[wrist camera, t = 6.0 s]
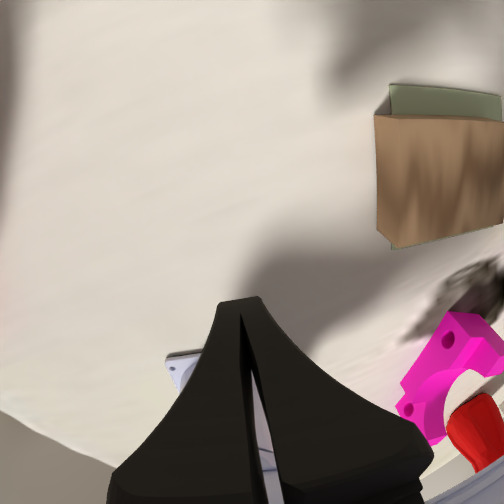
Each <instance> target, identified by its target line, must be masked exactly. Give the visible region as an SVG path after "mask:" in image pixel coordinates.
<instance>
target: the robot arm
mask: <svg viewBox="0 0 504 504" xmlns="http://www.w3.org/2000/svg"><path fill="white" fill-rule="evenodd" d="M165 366H166V368H167V370H168V372H169V374H170V376H171V378H172V380H173V382H174V384H175V386H176V388H177V390H178V392H179V394H180V395H179V396H178V398H177V399H176V401H175V402H174V404H173V405H172V407H171V408H170V410H169V411H168V413H167V414H166V415H165V417H164V418H163V419H162V421H161V422H160V423H159V424H158V426H157V427H156V428H155V429H154V430H153V432H152V433H151V434H150V435H149V436H148V437H147V439H146V440H145V441H144V442H143V443H142V444H141V445H140V447H139V448H138V449H137V450H136V451H135V452H134V453H133V454H132V455H130V456H129V457H128V458H127V459H126V460H125V461H124V462H123V463H122V464H121V465H120V466H119V467H118V468H117V469H116V470H115V471H114V472H113V473H112V476H111V480H110V484H109V488H108V492H107V501H106V504H504V455H503V456H502V457H500V458H499V459H497V460H496V461H494V462H493V463H492V464H490V465H489V466H487V467H486V468H484V469H483V470H481V471H479V472H478V473H476V474H475V475H473V476H471V477H470V478H468V479H467V480H465V481H463V482H462V483H460V484H458V485H456V486H454V487H453V488H451V489H449V490H447V491H445V492H443V493H442V494H440V495H438V496H436V497H434V498H432V499H430V500H428V501H426V502H424V500H423V498H422V496H421V493H420V491H421V490H422V489H423V486H422V484H421V482H420V480H419V477H420V475H421V474H422V473H423V472H424V471H425V470H426V469H427V468H428V466H429V465H430V464H431V462H432V461H433V458H434V452H433V450H432V448H431V446H430V444H429V442H428V441H427V439H426V438H425V436H424V435H423V434H422V432H421V431H420V430H419V428H418V427H417V426H416V424H415V423H414V422H411V421H409V420H406V419H404V418H402V417H399V416H397V415H395V414H393V413H391V412H389V411H387V410H384V409H382V408H380V407H379V406H377V405H375V404H373V403H371V402H369V401H368V400H366V399H364V398H362V397H361V396H359V395H358V394H356V393H355V392H353V391H351V390H350V389H348V388H347V387H345V386H344V385H342V384H341V383H339V382H338V381H336V380H335V379H334V378H332V377H331V376H330V375H329V374H327V373H326V372H325V371H323V370H322V369H321V368H320V367H319V366H317V365H316V364H315V363H314V362H313V361H312V360H311V359H309V358H308V357H307V356H306V355H305V354H304V353H303V352H302V351H301V350H300V349H299V348H298V347H297V346H296V345H295V344H294V343H293V342H292V340H291V339H290V338H289V337H288V336H287V335H286V334H285V332H284V331H283V330H282V329H281V328H280V327H279V325H278V324H277V323H276V322H275V320H274V319H273V317H272V316H271V315H270V313H269V312H268V310H267V309H266V307H265V305H264V304H263V302H262V300H261V298H260V297H258V296H255V297H249V298H243V299H239V300H238V299H237V300H231V301H225V302H220V303H219V304H218V305H217V309H216V314H215V318H214V321H213V324H212V327H211V330H210V333H209V336H208V338H207V341H206V344H205V346H204V349H203V351H202V353H198V354H191V355H184V356H177V357H170V358H167V359H165Z"/></svg>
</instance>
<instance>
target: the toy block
mask: <svg viewBox="0 0 504 504" xmlns="http://www.w3.org/2000/svg"><path fill="white" fill-rule="evenodd" d="M468 369H472V370H474V371H476V372H478V373H480V374H481V375H482V376H483V377H484V378H485V377H489V376H494V375H499V374H501V373H502V372H503V371H504V341H503V340H502V339H501V337H500V336H499V335H498V334H497V333H496V332H495V331H494V330H493V329H492V328H491V327H490V326H489V325H488V323H487V322H486V321H485V320H484V319H483V318H482V317H481V316H480V315H479V314H472V313H461V312H451V311H447V313H446V314H445V316H444V318H443V319H442V321H441V323H440V324H439V326H438V328H437V329H436V331H435V332H434V334H433V336H432V337H431V339H430V340H429V342H428V343H427V345H426V347H425V348H424V350H423V351H422V353H421V354H420V355H419V357H418V358H417V360H416V361H415V363H414V364H413V366H412V367H411V368H410V370H409V371H408V373H407V374H406V375H405V377H404V378H403V379H402V381H401V382H400V384H401V386H402V388H403V389H404V391H405V395H404V396H403V397H402V398H401V400H400V401H399V402H398V403H397V404H396V406H395V407H396V409H397V411H398V413H399V415H400V417H402V418H404V419H406V420H409V421H411V422H414V423H415V424H416V426H417V427H418V428H419V430H420V431H421V432H422V434H423V435H424V436H425V438H426V439H427V441H428V442H429V444H430V446H433V445H436V444H438V443H439V442H440V441H441V440H442V439H443V438H444V437H445V436H446V435H447V433H446V430H445V426H444V419H443V412H444V404H445V400H446V396H447V394H448V391H449V389H450V387H451V385H452V384H453V382H454V381H455V380H456V379H457V377H458V376H459V375H461V374H462V373H463V372H464V371H466V370H468Z"/></svg>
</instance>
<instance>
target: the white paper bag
mask: <svg viewBox="0 0 504 504" xmlns="http://www.w3.org/2000/svg"><path fill="white" fill-rule="evenodd" d="M499 407H500V409H501V410H502V412H503V413H504V401H503V402H502V403H501V405H500V406H499Z"/></svg>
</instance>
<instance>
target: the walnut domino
mask: <svg viewBox="0 0 504 504" xmlns="http://www.w3.org/2000/svg"><path fill="white" fill-rule="evenodd" d="M374 127H375V143H376V166H377V230H378V231H379V232H380V233H381V234H382V235H383V236H385V237H386V238H387V239H388V240H389V241H390V242H391V243H392V244H393V245H395V246H396V247H397V248H401V247H405V246H410V245H414V244H419V243H423V242H427V241H432V240H436V239H440V238H444V237H449V236H453V235H457V234H461V233H465V232H469V231H473V230H478V229H482V228H486V227H490V226H494V225H498V224H502V223H503V219H504V122H502V121H498V120H494V119H489V118H484V117H471V116H454V115H418V114H403V115H374Z"/></svg>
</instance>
